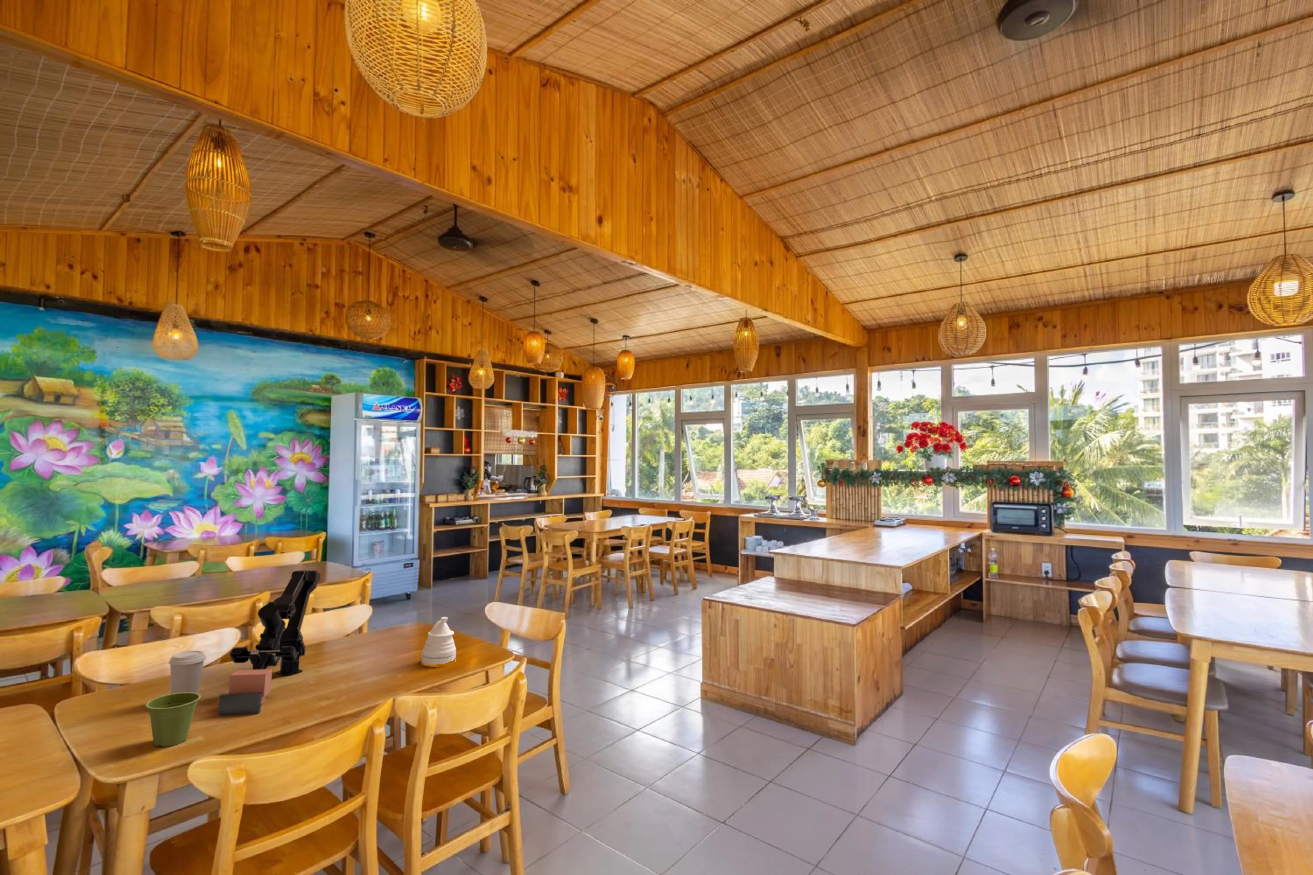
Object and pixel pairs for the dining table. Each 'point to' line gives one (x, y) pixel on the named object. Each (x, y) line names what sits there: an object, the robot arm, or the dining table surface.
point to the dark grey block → (240, 703)
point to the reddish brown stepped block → (251, 682)
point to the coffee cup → (186, 671)
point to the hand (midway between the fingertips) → (254, 678)
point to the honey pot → (439, 644)
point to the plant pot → (172, 717)
